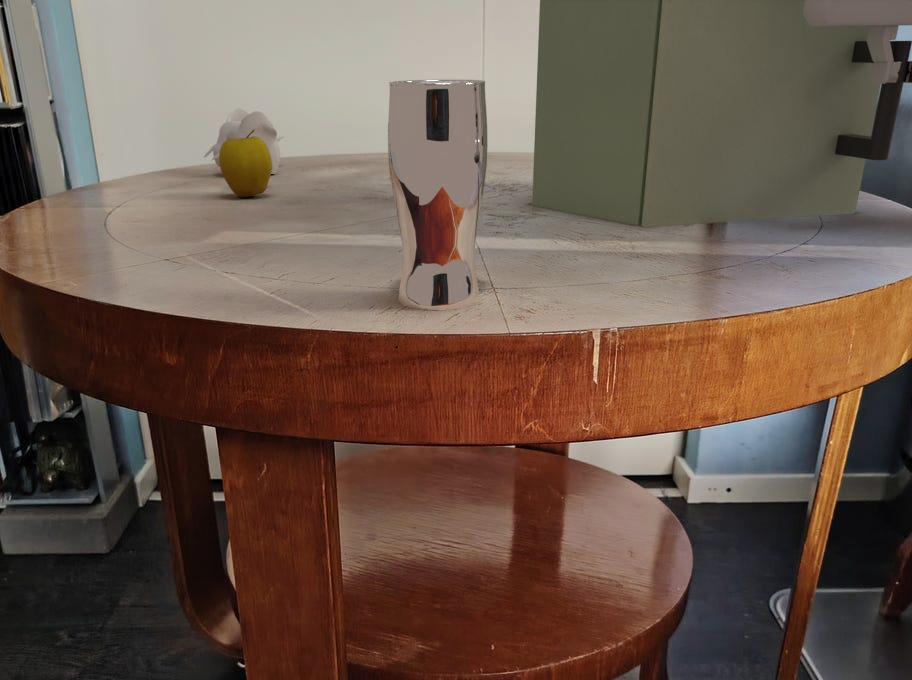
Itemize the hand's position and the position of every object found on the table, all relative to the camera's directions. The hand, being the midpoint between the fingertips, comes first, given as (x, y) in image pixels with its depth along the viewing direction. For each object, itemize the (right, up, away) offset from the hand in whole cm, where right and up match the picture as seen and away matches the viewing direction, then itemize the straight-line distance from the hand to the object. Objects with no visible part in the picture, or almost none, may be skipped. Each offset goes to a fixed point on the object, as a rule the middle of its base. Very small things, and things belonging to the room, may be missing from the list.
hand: (898, 83), depth 82 cm
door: (-9, -12, +7) cm, 17 cm away
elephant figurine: (-70, +11, +53) cm, 89 cm away
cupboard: (-17, -6, +19) cm, 26 cm away
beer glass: (-42, -23, -14) cm, 50 cm away
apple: (-66, +1, +34) cm, 74 cm away
